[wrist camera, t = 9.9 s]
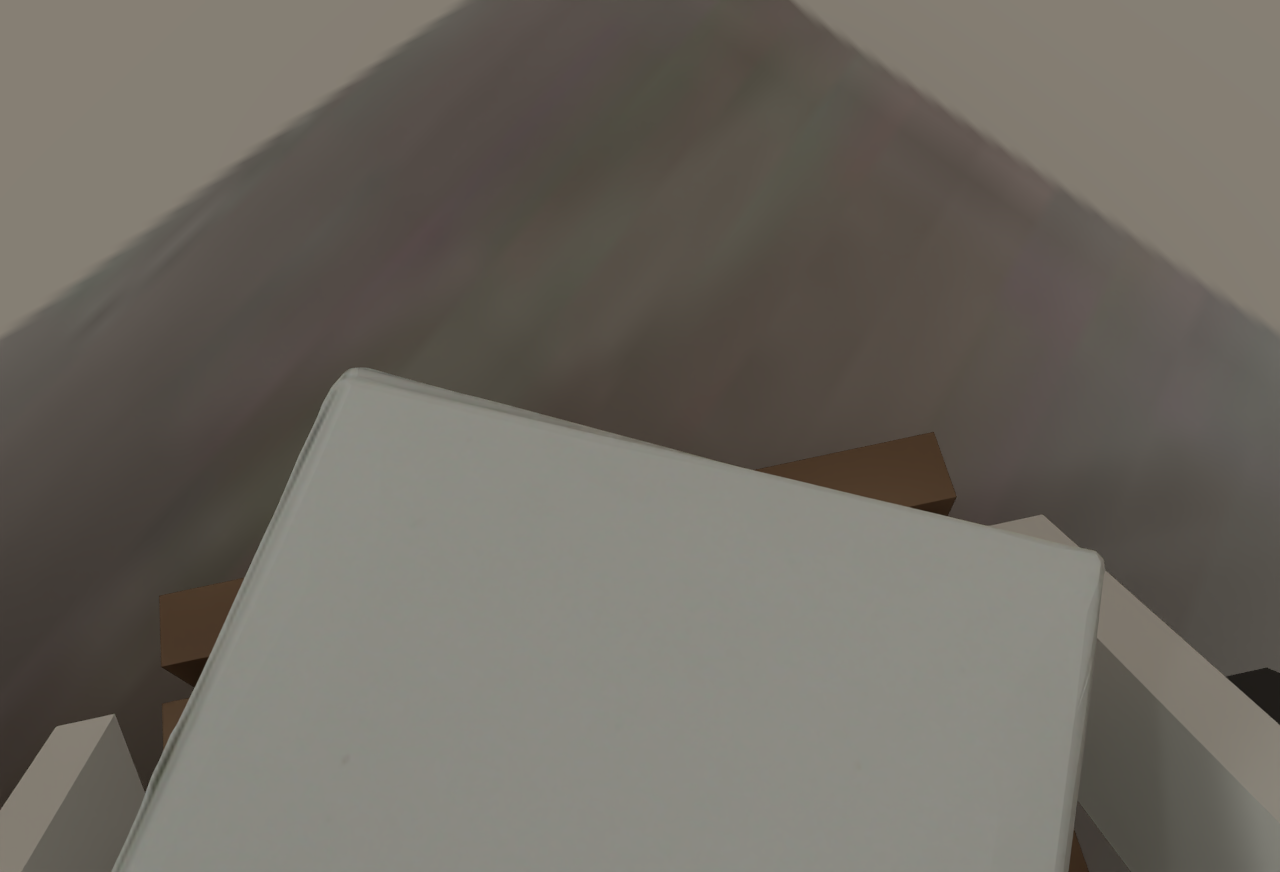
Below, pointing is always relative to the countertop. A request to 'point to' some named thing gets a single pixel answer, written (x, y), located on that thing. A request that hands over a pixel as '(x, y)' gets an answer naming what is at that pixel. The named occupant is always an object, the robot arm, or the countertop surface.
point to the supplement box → (619, 667)
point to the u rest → (871, 471)
